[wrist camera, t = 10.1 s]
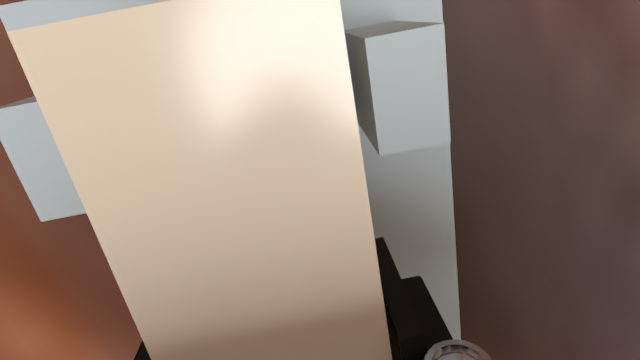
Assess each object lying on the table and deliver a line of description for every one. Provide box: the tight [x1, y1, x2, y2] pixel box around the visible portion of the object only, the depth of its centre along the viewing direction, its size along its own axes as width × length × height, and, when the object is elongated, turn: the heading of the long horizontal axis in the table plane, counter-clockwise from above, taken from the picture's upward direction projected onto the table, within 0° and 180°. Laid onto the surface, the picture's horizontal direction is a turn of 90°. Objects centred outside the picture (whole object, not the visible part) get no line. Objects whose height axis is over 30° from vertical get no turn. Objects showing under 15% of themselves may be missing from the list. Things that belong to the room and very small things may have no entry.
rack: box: [0, 0, 461, 340], centre depth 13 cm, size 18×12×6 cm, turn 10°
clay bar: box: [7, 0, 392, 360], centre depth 11 cm, size 16×4×6 cm, turn 10°
